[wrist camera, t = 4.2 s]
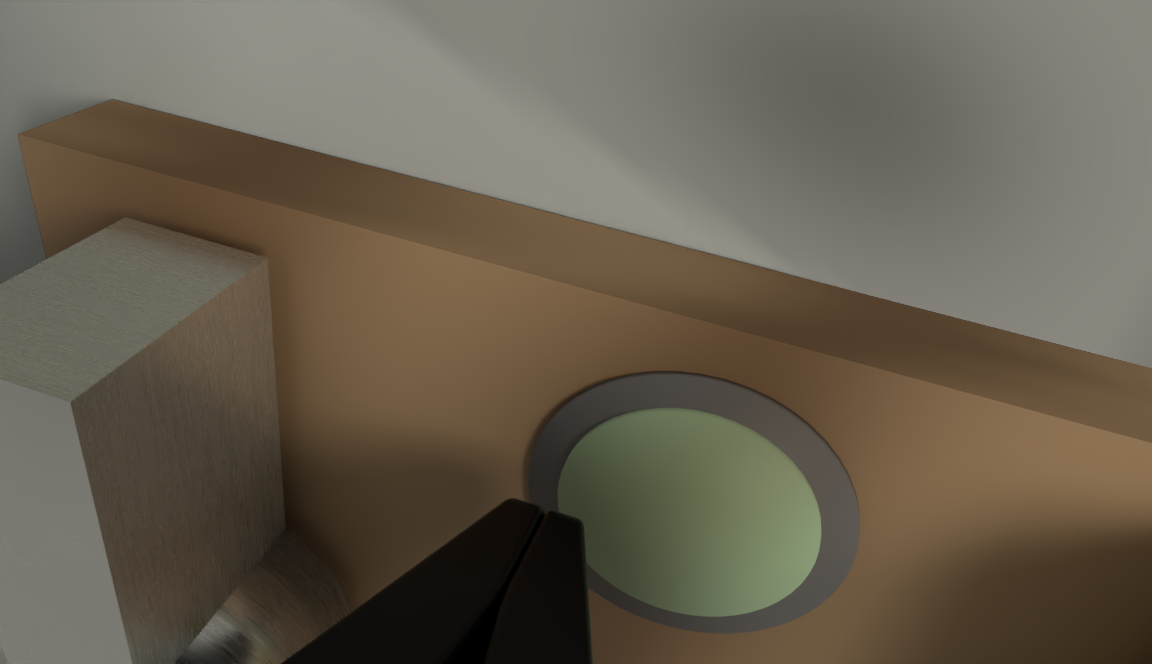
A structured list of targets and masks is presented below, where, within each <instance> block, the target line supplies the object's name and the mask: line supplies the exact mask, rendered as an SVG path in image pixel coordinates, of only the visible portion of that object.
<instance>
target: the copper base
mask: <svg viewBox="0 0 1152 664" xmlns="http://www.w3.org/2000/svg"><path fill="white" fill-rule="evenodd" d="M18 138H19V142H20V147H21V151H22V155H23V160H24V164H25V168H26V173H27V177H28V181H29V186H30V190H31V195H32V199H33V203H34V208H35V212H36V216H37V221H38V225H39V229H40V234H41V238H42V242H43V247H44V251H45V255H46V259H48V258H50V257H52V256H54V255H56V254H57V253H59V252H61V251H63V250H65V249H67V248H69V247H71V246H72V245H74V244H76V243H78V242H80V241H82V240H84V239H86V238H87V237H89V236H91V235H93V234H95V233H97V232H99V231H101V230H102V229H104V228H106V227H108V226H110V225H112V224H114V223H116V222H117V221H119V220H121V219H123V218H125V217H126V218H130V219H133V220H137V221H140V222H144V223H147V224H151V225H154V226H158V227H161V228H165V229H168V230H172V231H175V232H179V233H183V234H186V235H190V236H193V237H197V238H200V239H204V240H207V241H211V242H214V243H218V244H221V245H225V246H228V247H232V248H235V249H239V250H242V251H246V252H249V253H253V254H256V255H260V256H263V257H267V258H268V269H269V284H270V299H271V314H272V329H273V344H274V359H275V375H276V390H277V405H278V420H279V435H280V450H281V465H282V480H283V495H284V510H285V525H286V529H288V530H289V531H291V532H292V533H293V534H295V535H296V536H297V537H298V538H299V539H301V540H302V541H303V542H304V543H305V544H307V545H308V546H309V547H310V548H311V549H312V550H313V551H314V552H315V553H316V554H317V555H318V556H319V557H320V558H321V559H322V561H323V562H324V563H325V564H326V565H327V566H328V568H329V569H330V570H331V571H332V572H333V574H334V575H335V577H336V578H337V579H338V581H339V582H340V584H341V585H342V587H343V589H344V591H345V592H346V594H347V596H348V598H349V600H350V602H351V605H352V607H353V610H355V609H356V608H358V607H359V606H360V605H362V604H363V603H364V602H366V601H367V600H369V599H370V598H371V597H373V596H374V595H375V594H377V593H378V592H380V591H381V590H382V589H384V588H385V587H386V586H388V585H389V584H391V583H392V582H393V581H395V580H396V579H397V578H399V577H400V576H402V575H403V574H404V573H406V572H407V571H408V570H410V569H411V568H413V567H414V566H415V565H417V564H418V563H419V562H421V561H422V560H424V559H425V558H426V557H428V556H429V555H430V554H432V553H433V552H435V551H436V550H437V549H439V548H440V547H441V546H443V545H444V544H446V543H447V542H448V541H450V540H451V539H452V538H454V537H455V536H457V535H458V534H459V533H461V532H462V531H463V530H465V529H466V528H468V527H469V526H470V525H472V524H473V523H474V522H476V521H477V520H478V519H480V518H481V517H483V516H484V515H485V514H487V513H488V512H489V511H491V510H492V509H494V508H495V507H496V506H498V505H499V504H500V503H502V502H503V501H505V500H506V499H509V498H516V499H519V500H522V501H525V502H528V503H531V504H535V505H538V506H540V507H542V508H543V509H544V511H545V513H546V512H548V511H550V510H554V511H557V512H560V513H563V514H566V515H569V516H572V517H576V518H579V519H581V521H582V522H583V524H584V532H585V547H586V562H587V578H588V593H589V608H590V623H591V638H592V653H593V664H1152V369H1151V368H1147V367H1144V366H1140V365H1136V364H1132V363H1128V362H1124V361H1120V360H1116V359H1113V358H1109V357H1105V356H1101V355H1097V354H1093V353H1090V352H1086V351H1082V350H1078V349H1074V348H1070V347H1066V346H1063V345H1059V344H1055V343H1051V342H1047V341H1043V340H1039V339H1035V338H1031V337H1028V336H1024V335H1020V334H1016V333H1012V332H1008V331H1004V330H1000V329H997V328H993V327H989V326H985V325H981V324H977V323H973V322H970V321H966V320H962V319H958V318H954V317H951V316H946V315H943V314H939V313H935V312H931V311H927V310H924V309H920V308H916V307H912V306H908V305H904V304H900V303H896V302H892V301H889V300H885V299H881V298H877V297H873V296H869V295H866V294H861V293H858V292H854V291H850V290H846V289H842V288H839V287H835V286H831V285H827V284H823V283H819V282H815V281H812V280H808V279H804V278H800V277H796V276H792V275H788V274H785V273H781V272H777V271H773V270H769V269H765V268H761V267H758V266H754V265H750V264H746V263H742V262H738V261H734V260H730V259H727V258H723V257H719V256H715V255H711V254H707V253H703V252H700V251H696V250H692V249H688V248H684V247H680V246H676V245H673V244H669V243H665V242H661V241H657V240H653V239H649V238H646V237H642V236H638V235H634V234H630V233H626V232H622V231H619V230H615V229H611V228H607V227H603V226H599V225H595V224H592V223H588V222H584V221H580V220H576V219H572V218H568V217H564V216H561V215H557V214H553V213H549V212H545V211H541V210H537V209H534V208H530V207H526V206H522V205H518V204H514V203H510V202H507V201H503V200H499V199H495V198H491V197H487V196H483V195H480V194H476V193H472V192H468V191H464V190H460V189H456V188H453V187H449V186H445V185H441V184H437V183H433V182H429V181H425V180H422V179H418V178H414V177H410V176H406V175H402V174H398V173H395V172H391V171H387V170H383V169H379V168H375V167H371V166H368V165H364V164H360V163H356V162H352V161H348V160H344V159H341V158H337V157H333V156H329V155H325V154H321V153H317V152H314V151H310V150H306V149H302V148H298V147H294V146H290V145H287V144H283V143H279V142H275V141H271V140H267V139H263V138H259V137H256V136H252V135H248V134H244V133H240V132H236V131H232V130H229V129H225V128H221V127H217V126H213V125H209V124H205V123H202V122H198V121H194V120H190V119H186V118H182V117H178V116H175V115H171V114H167V113H163V112H159V111H155V110H151V109H148V108H144V107H140V106H136V105H132V104H128V103H124V102H121V101H117V100H113V99H112V100H110V101H107V102H104V103H101V104H99V105H96V106H93V107H91V108H88V109H85V110H82V111H80V112H77V113H74V114H71V115H69V116H66V117H63V118H61V119H58V120H55V121H52V122H50V123H47V124H44V125H41V126H39V127H36V128H33V129H31V130H28V131H25V132H22V133H20V134H18Z"/></svg>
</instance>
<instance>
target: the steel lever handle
mask: <svg viewBox="0 0 1152 664" xmlns="http://www.w3.org/2000/svg"><path fill="white" fill-rule="evenodd" d="M352 611H353V607H352V605H351V602H350V600H349V598H348V596H347V594H346V592H345V591H344V589H343V587H342V585H341V584H340V582H339V581H338V579H337V578H336V577H335V575H334V574H333V572H332V571H331V570H330V569H329V568H328V566H327V565H326V564H325V563H324V562H323V561H322V559H321V558H320V557H319V556H318V555H317V554H316V553H315V552H314V551H313V550H312V549H311V548H310V547H309V546H308V545H307V544H305V543H304V542H303V541H302V540H301V539H299V538H298V537H297V536H296V535H295V534H293V533H292V532H291V531H289V530H288V529H286V525H285V510H284V495H283V480H282V465H281V450H280V435H279V420H278V405H277V390H276V375H275V359H274V344H273V329H272V314H271V299H270V284H269V269H268V258H267V257H263V256H260V255H256V254H253V253H249V252H246V251H242V250H239V249H235V248H232V247H228V246H225V245H221V244H218V243H214V242H211V241H207V240H204V239H200V238H197V237H193V236H190V235H186V234H183V233H179V232H175V231H172V230H168V229H165V228H161V227H158V226H154V225H151V224H147V223H144V222H140V221H137V220H133V219H130V218H126V217H125V218H123V219H121V220H119V221H117V222H116V223H114V224H112V225H110V226H108V227H106V228H104V229H102V230H101V231H99V232H97V233H95V234H93V235H91V236H89V237H87V238H86V239H84V240H82V241H80V242H78V243H76V244H74V245H72V246H71V247H69V248H67V249H65V250H63V251H61V252H59V253H57V254H56V255H54V256H52V257H50V258H48V259H46V260H44V261H42V262H41V263H39V264H37V265H35V266H33V267H31V268H29V269H27V270H26V271H24V272H22V273H20V274H18V275H16V276H14V277H12V278H11V279H9V280H7V281H5V282H3V283H1V284H0V664H281V663H282V662H283V661H285V660H286V659H288V658H289V657H290V656H292V655H293V654H294V653H296V652H297V651H299V650H300V649H301V648H303V647H304V646H305V645H307V644H308V643H310V642H311V641H312V640H314V639H315V638H316V637H318V636H319V635H320V634H322V633H323V632H325V631H326V630H327V629H329V628H330V627H331V626H333V625H334V624H336V623H337V622H338V621H340V620H341V619H342V618H344V617H345V616H347V615H348V614H349V613H351V612H352Z"/></svg>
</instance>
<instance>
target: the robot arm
mask: <svg viewBox="0 0 1152 664" xmlns="http://www.w3.org/2000/svg"><path fill="white" fill-rule="evenodd" d="M281 664H593V653H592V638H591V623H590V608H589V593H588V578H587V562H586V547H585V532H584V524H583V522H582V521H581V519H579V518H576V517H572V516H569V515H566V514H563V513H560V512H557V511H554V510H550V511H548V512H546V513H545V511H544V509H543V508H542V507H540V506H538V505H535V504H531V503H528V502H525V501H522V500H519V499H516V498H509V499H506V500H505V501H503V502H502V503H500V504H499V505H498V506H496V507H495V508H494V509H492V510H491V511H489V512H488V513H487V514H485V515H484V516H483V517H481V518H480V519H478V520H477V521H476V522H474V523H473V524H472V525H470V526H469V527H468V528H466V529H465V530H463V531H462V532H461V533H459V534H458V535H457V536H455V537H454V538H452V539H451V540H450V541H448V542H447V543H446V544H444V545H443V546H441V547H440V548H439V549H437V550H436V551H435V552H433V553H432V554H430V555H429V556H428V557H426V558H425V559H424V560H422V561H421V562H419V563H418V564H417V565H415V566H414V567H413V568H411V569H410V570H408V571H407V572H406V573H404V574H403V575H402V576H400V577H399V578H397V579H396V580H395V581H393V582H392V583H391V584H389V585H388V586H386V587H385V588H384V589H382V590H381V591H380V592H378V593H377V594H375V595H374V596H373V597H371V598H370V599H369V600H367V601H366V602H364V603H363V604H362V605H360V606H359V607H358V608H356V609H355V610H353V611H352V612H351V613H349V614H348V615H347V616H345V617H344V618H342V619H341V620H340V621H338V622H337V623H336V624H334V625H333V626H331V627H330V628H329V629H327V630H326V631H325V632H323V633H322V634H320V635H319V636H318V637H316V638H315V639H314V640H312V641H311V642H310V643H308V644H307V645H305V646H304V647H303V648H301V649H300V650H299V651H297V652H296V653H294V654H293V655H292V656H290V657H289V658H288V659H286V660H285V661H283V662H282V663H281Z"/></svg>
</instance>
